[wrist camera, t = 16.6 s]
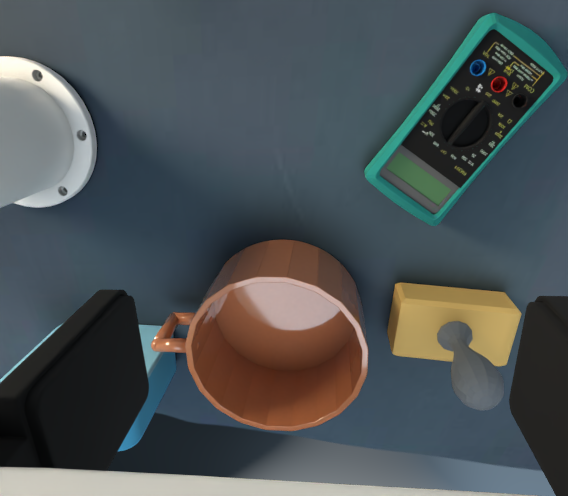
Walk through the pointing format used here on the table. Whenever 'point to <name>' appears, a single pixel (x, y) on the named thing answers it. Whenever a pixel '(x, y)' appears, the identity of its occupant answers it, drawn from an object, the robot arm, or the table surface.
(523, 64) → the digital multimeter
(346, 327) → the terracotta mug
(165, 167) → the table surface
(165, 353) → the data package
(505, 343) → the rubber stamp
